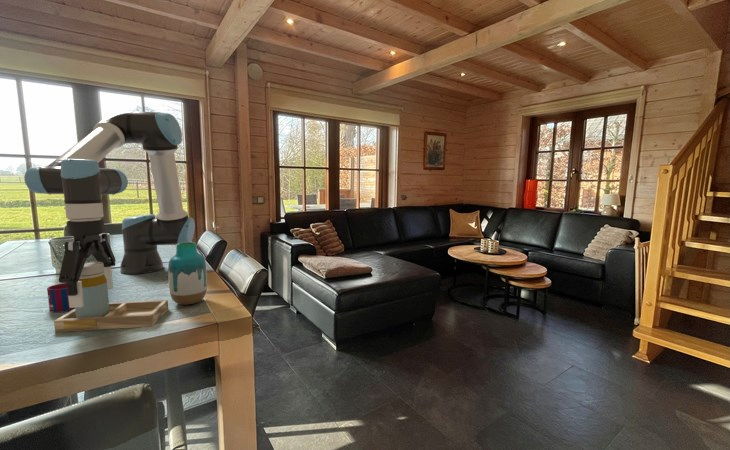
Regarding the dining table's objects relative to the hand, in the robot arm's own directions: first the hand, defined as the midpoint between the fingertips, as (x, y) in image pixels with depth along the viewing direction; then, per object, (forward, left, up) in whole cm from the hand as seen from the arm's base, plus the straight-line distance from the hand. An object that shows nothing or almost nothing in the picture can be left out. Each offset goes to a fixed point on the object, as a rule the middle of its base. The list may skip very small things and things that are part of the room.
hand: (93, 297), depth 89 cm
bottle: (0, 0, -6) cm, 6 cm away
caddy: (0, +5, -7) cm, 8 cm away
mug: (-13, -13, -7) cm, 19 cm away
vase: (-10, +21, -7) cm, 24 cm away
